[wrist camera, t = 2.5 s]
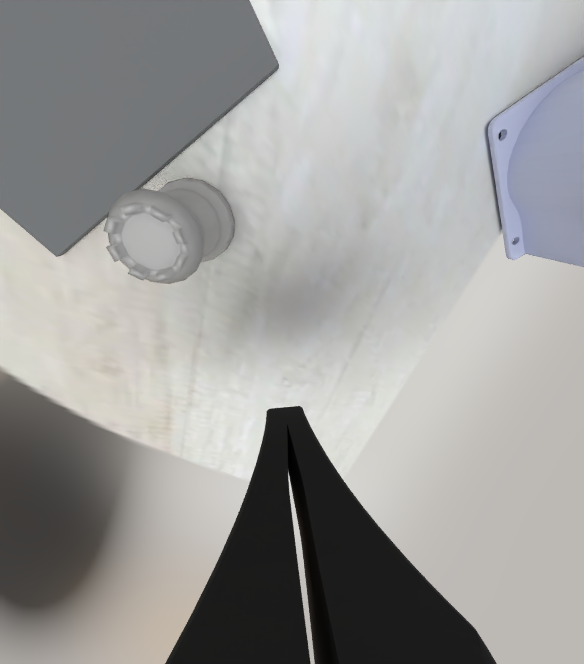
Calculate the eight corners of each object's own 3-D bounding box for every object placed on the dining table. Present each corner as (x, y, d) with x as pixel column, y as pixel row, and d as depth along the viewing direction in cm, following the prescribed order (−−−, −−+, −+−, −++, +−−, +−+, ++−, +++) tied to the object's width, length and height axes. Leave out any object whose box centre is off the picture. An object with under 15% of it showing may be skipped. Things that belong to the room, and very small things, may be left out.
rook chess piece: (207, 272, 17) (171, 328, 10) (143, 222, 15) (42, 249, 8) (249, 219, 15) (243, 241, 8) (186, 158, 13) (110, 122, 7)
